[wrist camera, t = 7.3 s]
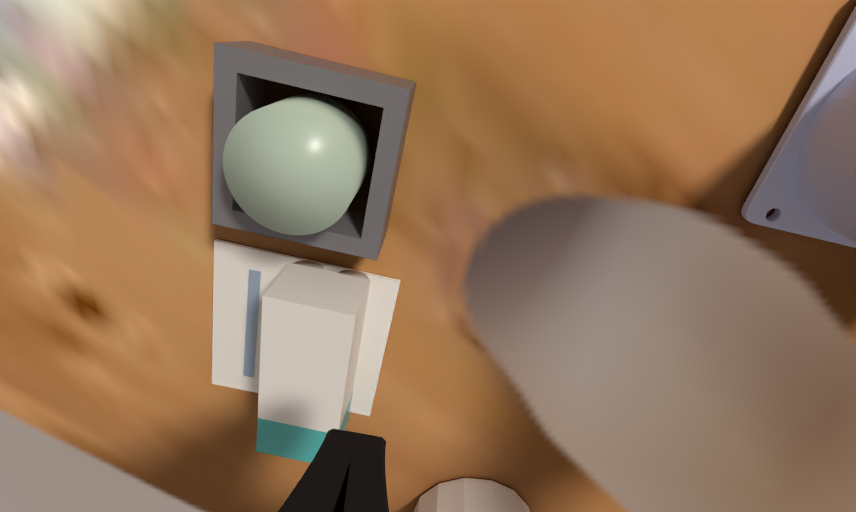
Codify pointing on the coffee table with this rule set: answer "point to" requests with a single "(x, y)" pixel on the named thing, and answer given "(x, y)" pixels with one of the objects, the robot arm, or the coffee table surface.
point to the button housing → (255, 63)
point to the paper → (242, 314)
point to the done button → (297, 163)
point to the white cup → (470, 497)
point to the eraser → (308, 357)
